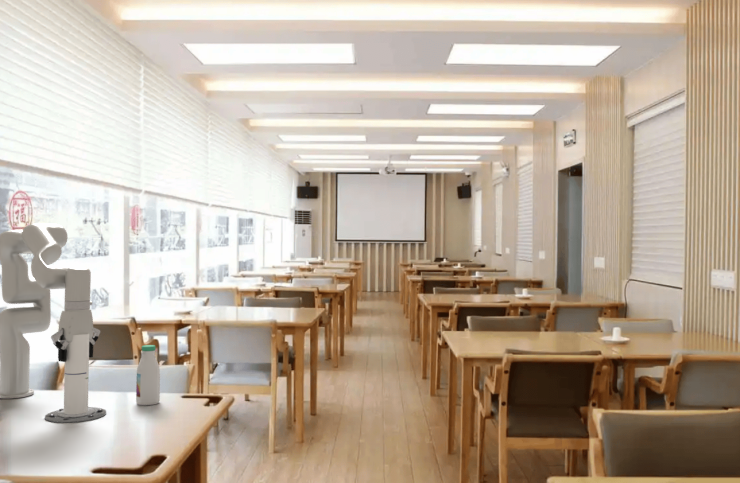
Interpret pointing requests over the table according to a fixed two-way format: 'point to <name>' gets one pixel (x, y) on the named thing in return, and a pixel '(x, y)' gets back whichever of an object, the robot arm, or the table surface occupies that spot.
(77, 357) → the cylindrical container
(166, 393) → the table surface
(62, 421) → the flange
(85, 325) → the robot arm
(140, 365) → the milk bottle
